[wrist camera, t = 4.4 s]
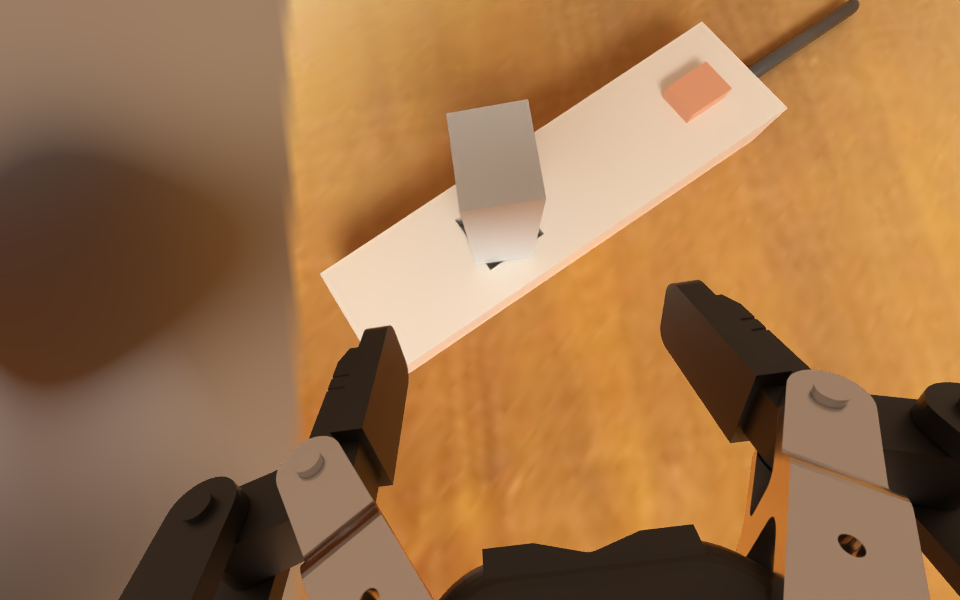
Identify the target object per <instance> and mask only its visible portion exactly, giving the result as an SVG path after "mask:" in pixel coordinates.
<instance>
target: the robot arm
mask: <svg viewBox="0 0 960 600" xmlns="http://www.w3.org/2000/svg"><path fill="white" fill-rule="evenodd" d="M660 330H661V337H662V341H663V343H664V345H665V347H666V349H667V350H668V352H669V353H670V355H671V356H672V358H673V359H674V361H675V362H676V363H677V365H678V366H679V368H680V369H681V371H682V372H683V374H684V375H685V377H686V378H687V380H688V381H689V383H690V384H691V386H692V387H693V389H694V390H695V392H696V393H697V395H698V396H699V397H700V399H701V400H702V402H703V403H704V405H705V406H706V408H707V409H708V411H709V412H710V414H711V415H712V417H713V418H714V420H715V421H716V423H717V424H718V426H719V427H720V429H721V430H722V431H723V433H724V434H725V436H726V437H727V439H728V440H729V442H730V443H735V442H743V441H750V442H751V443H752V445H753V446H754V447H755V451H754V454H753V457H752V464H751V472H750V480H749V487H748V495H747V503H746V510H745V518H744V524H743V529H742V532H741V536H740V539H739V542H738V546H737V549H736V552H735V551H732V550H730V549H727V548H725V547H722V546H719V545H716V544H712V543H709V542H704V541H701V540H700V537H699V535H698V533H697V531H696V529H695V527H694V525H693V524H692V525H683V526H675V527H666V528H658V529H649V530H641V531H638V532H636V533H634V534H632V535H629V536H627V537H625V538H623V539H621V540H618V541H616V542H614V543H612V544H609V545H607V546H605V547H603V548H601V549H598V550H596V551H593V552H581V551H575V550H569V549H564V548H558V547H552V546H546V545H540V544H535V543H531V544H523V545H514V546H506V547H497V548H489V549H482V551H483V565H482V566H480V567H477V568H475V569H473V570H472V571H470V572H469V573H467V574H465V575H464V576H463V577H461V578H460V579H459V580H458V581H457V582H455V583H454V584H453V585H452V586H451V587H450V588H449V589H448V590H447V591H446V592H445V593H444V594H443V595H442V597H441V598H440V599H439V600H930V595H929V590H928V585H927V579H926V574H925V568H924V563H923V557H922V552H923V554H924V555H925V556H926V557H927V558H928V559H929V561H930V562H931V563H932V564H933V565H934V567H935V568H936V569H937V570H938V571H939V572H940V574H941V575H942V576H943V577H944V578H945V580H946V581H947V582H948V583H949V584H950V585H951V587H952V588H953V589H954V590H955V591H956V593H957V594H958V595H959V596H960V383H951V382H944V383H936V384H933V385H930V386H929V387H928V388H927V389H926V390H925V391H924V393H923V394H922V395H921V396H920V398H919V399H918V400H916V399H907V398H897V397H888V396H878V395H870V394H869V393H868V392H867V391H866V390H864V389H863V388H862V387H860V386H859V385H858V384H856V383H854V382H853V381H851V380H849V379H847V378H845V377H842V376H840V375H837V374H834V373H830V372H826V371H821V370H811V369H810V368H809V367H808V366H807V365H806V364H805V363H804V362H803V361H802V360H800V359H799V358H798V357H797V356H796V355H795V354H794V353H793V352H792V351H791V350H790V349H789V348H788V347H786V346H785V345H784V344H783V343H782V342H781V341H780V340H779V339H778V338H777V337H776V336H775V335H774V334H772V333H771V332H770V331H769V330H766V327H765V326H764V325H763V324H762V323H761V322H760V321H758V320H757V319H755V318H754V316H753V315H752V314H751V313H750V312H749V311H748V310H747V309H746V308H744V307H743V306H742V305H741V304H740V303H738V302H736V301H734V300H732V299H730V298H728V297H726V296H724V295H722V294H721V295H715V294H714V293H713V292H712V291H711V290H710V289H709V288H708V287H707V286H706V285H705V284H704V283H703V282H702V281H700V280H693V281H687V282H680V283H673V284H670V285H668V287H667V289H666V295H665V301H664V307H663V313H662V320H661V327H660ZM407 388H408V367H407V363H406V360H405V357H404V355H403V352H402V349H401V347H400V344H399V341H398V338H397V336H396V333H395V330H394V328H393V327H392V326H391V325H389V326H382V327H375V328H369V329H365V330H364V332H363V335H362V338H361V341H360V344H359V347H357V348H350V349H349V350H348V351H347V352H346V354H345V355H344V356H343V357H342V358H341V359H340V361H339V362H338V364H337V367H336V369H335V372H334V374H333V379H332V380H331V382H330V385H329V388H328V392H327V393H326V395H325V398H324V401H323V403H322V406H321V409H320V411H319V414H318V416H317V419H316V422H315V424H314V427H313V430H312V432H311V435H310V437H309V439H308V440H306V441H304V442H302V443H300V444H299V445H298V446H296V447H295V448H294V449H293V450H291V451H290V452H289V453H288V454H287V456H286V457H285V458H284V460H283V461H282V463H281V464H280V466H279V469H278V470H276V471H274V472H273V473H270V474H268V475H265V476H263V477H261V478H258V479H256V480H254V481H251V482H249V483H246V484H244V485H242V486H238V485H237V484H236V483H235V482H234V481H233V480H231V479H230V478H227V477H215V478H211V479H208V480H206V481H204V482H202V483H200V484H198V485H196V486H195V487H193V488H192V489H191V490H189V491H188V492H187V493H185V495H183V496H182V497H181V498H180V499H179V500H178V501H177V502H176V503H175V504H174V506H173V507H172V508H171V509H170V511H169V513H168V514H167V516H166V517H165V519H164V521H163V523H162V525H161V526H160V528H159V530H158V532H157V533H156V535H155V537H154V538H153V540H152V542H151V544H150V545H149V547H148V549H147V551H146V553H145V554H144V556H143V558H142V560H141V561H140V563H139V565H138V567H137V569H136V570H135V572H134V574H133V575H132V577H131V579H130V581H129V582H128V584H127V586H126V588H125V589H124V591H123V593H122V595H121V596H120V598H119V600H282V596H283V592H284V589H285V585H286V581H287V578H288V574H289V571H290V568H291V567H293V566H295V565H297V564H299V563H301V562H303V561H304V563H303V564H302V565H301V567H300V572H301V577H302V581H303V584H304V587H305V590H306V593H307V595H308V598H309V600H434V598H433V597H432V595H431V593H430V592H429V590H428V588H427V587H426V585H425V583H424V582H423V580H422V579H421V577H420V575H419V574H418V572H417V570H416V569H415V567H414V565H413V564H412V562H411V560H410V559H409V557H408V555H407V554H406V552H405V551H404V549H403V547H402V546H401V544H400V542H399V541H398V539H397V537H396V536H395V534H394V532H393V531H392V529H391V527H390V526H389V524H388V522H387V521H386V519H385V517H384V516H383V514H382V512H381V511H380V509H379V507H378V506H377V504H376V498H377V492H378V487H380V486H388V485H393V480H394V474H395V467H396V461H397V454H398V447H399V441H400V434H401V428H402V421H403V414H404V408H405V401H406V395H407ZM921 551H922V552H921Z"/></svg>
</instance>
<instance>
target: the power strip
mask: <svg viewBox="0 0 960 600" xmlns="http://www.w3.org/2000/svg"><path fill="white" fill-rule="evenodd" d="M858 8H859V1H858V0H849V1H847V2H846V3H844V4H843V5H841V6H840V7H838V8H837V9H835V10H834V11H832V12H831V13H829V14H828V15H826V16H825V17H823V18H822V19H820V20H819V21H817V22H816V23H814V24H813V25H811V26H810V27H808V28H807V29H805V30H804V31H802V32H801V33H799V34H798V35H796V36H795V37H793V38H792V39H790V40H789V41H787V42H786V43H784V44H783V45H781V46H780V47H778V48H777V49H775V50H774V51H772V52H771V53H769V54H768V55H766V56H765V57H763V58H762V59H760V60H759V61H757V62H756V63H754V64H753V65H751V66H750V67H747V66H746V65H745V64H744V63H743V62H742V61H741V60H740V59H739V58H738V57H737V56H736V55H735V54H734V53H733V52H732V51H731V50H730V49H729V48H728V47H727V46H726V45H725V44H724V43H723V42H722V41H721V40H720V39H719V38H718V37H717V36H716V35H715V34H714V33H713V32H712V31H711V30H710V29H709V28H708V27H707V26H706V25H705V24H704V23H703V22H700V23H699V24H697V25H696V26H694V27H693V28H691V29H690V30H688V31H687V32H685V33H684V34H682V35H681V36H679V37H678V38H676V39H675V40H673V41H672V42H670V43H669V44H667V45H666V46H664V47H663V48H661V49H660V50H658V51H656V52H655V53H653V54H652V55H650V56H649V57H647V58H646V59H644V60H643V61H641V62H640V63H638V64H637V65H635V66H634V67H632V68H631V69H629V70H628V71H626V72H625V73H623V74H622V75H620V76H619V77H617V78H616V79H614V80H613V81H611V82H610V83H608V84H607V85H605V86H603V87H602V88H600V89H599V90H597V91H596V92H594V93H593V94H591V95H590V96H588V97H587V98H585V99H584V100H582V101H581V102H579V103H578V104H576V105H575V106H573V107H572V108H570V109H569V110H567V111H566V112H564V113H563V114H561V115H560V116H558V117H557V118H555V119H553V120H552V121H550V122H549V123H547V124H546V125H544V126H543V127H541V128H540V129H538V130H537V131H535V132H534V134H535V140H536V145H537V150H538V156H539V161H540V167H541V172H542V178H543V183H544V189H545V194H546V201H545V206H544V210H543V214H542V219H541V223H540V227H539V232H538V236H537V240H536V245H535V249H534V253H533V256H531V257H525V258H518V259H512V260H505V261H499V262H492V263H486V264H479V265H476V263H475V260H474V257H473V254H472V251H471V247H470V244H469V241H468V238H467V234H466V231H465V228H464V225H463V222H462V218H461V215H460V212H459V205H458V197H457V190H456V184H455V185H454V186H452V187H450V188H449V189H447V190H446V191H444V192H443V193H441V194H440V195H438V196H437V197H435V198H434V199H432V200H431V201H429V202H428V203H426V204H425V205H423V206H422V207H420V208H419V209H417V210H416V211H414V212H413V213H411V214H410V215H408V216H407V217H405V218H404V219H402V220H400V221H399V222H397V223H396V224H394V225H393V226H391V227H390V228H388V229H387V230H385V231H384V232H382V233H381V234H379V235H378V236H376V237H375V238H373V239H372V240H370V241H369V242H367V243H366V244H364V245H363V246H361V247H360V248H358V249H357V250H355V251H354V252H352V253H351V254H349V255H347V256H346V257H344V258H343V259H341V260H340V261H338V262H337V263H335V264H334V265H332V266H331V267H329V268H328V269H326V270H325V271H323V272H322V273H320V275H321V277H322V278H323V280H324V282H325V283H326V285H327V287H328V288H329V290H330V292H331V293H332V295H333V297H334V298H335V300H336V302H337V303H338V305H339V307H340V308H341V310H342V312H343V313H344V315H345V317H346V318H347V320H348V322H349V324H350V325H351V327H352V329H353V330H354V332H355V334H356V335H357V337H358V339H359V340H360V341H361V338H362V335H363V332H364V330H365V329H369V328H375V327H382V326H389V325H391V326H392V327H393V328H394V330H395V333H396V336H397V338H398V341H399V344H400V347H401V349H402V352H403V355H404V357H405V360H406V363H407V367H408V374H409V373H410V372H412V371H413V370H415V369H416V368H418V367H419V366H421V365H422V364H424V363H425V362H427V361H428V360H430V359H431V358H432V357H434V356H435V355H437V354H438V353H440V352H441V351H443V350H444V349H446V348H447V347H449V346H450V345H452V344H453V343H455V342H456V341H458V340H459V339H460V338H462V337H463V336H465V335H466V334H468V333H469V332H471V331H472V330H474V329H475V328H477V327H478V326H480V325H481V324H483V323H484V322H486V321H487V320H489V319H490V318H491V317H493V316H494V315H496V314H497V313H499V312H500V311H502V310H503V309H505V308H506V307H508V306H509V305H511V304H512V303H514V302H515V301H517V300H518V299H519V298H521V297H522V296H524V295H525V294H527V293H528V292H530V291H531V290H533V289H534V288H536V287H537V286H539V285H540V284H542V283H543V282H545V281H546V280H548V279H549V278H550V277H552V276H553V275H555V274H556V273H558V272H559V271H561V270H562V269H564V268H565V267H567V266H568V265H570V264H571V263H573V262H574V261H576V260H577V259H578V258H580V257H581V256H583V255H584V254H586V253H587V252H589V251H590V250H592V249H593V248H595V247H596V246H598V245H599V244H601V243H602V242H604V241H605V240H606V239H608V238H609V237H611V236H612V235H614V234H615V233H617V232H618V231H620V230H621V229H623V228H624V227H626V226H627V225H629V224H630V223H632V222H633V221H635V220H636V219H637V218H639V217H640V216H642V215H643V214H645V213H646V212H648V211H649V210H651V209H652V208H654V207H655V206H657V205H658V204H660V203H661V202H663V201H664V200H665V199H667V198H668V197H670V196H671V195H673V194H674V193H676V192H677V191H679V190H680V189H682V188H683V187H685V186H686V185H688V184H689V183H691V182H692V181H694V180H695V179H696V178H698V177H699V176H701V175H702V174H704V173H705V172H707V171H708V170H710V169H711V168H713V167H714V166H716V165H717V164H719V163H720V162H722V161H723V160H724V159H726V158H727V157H729V156H730V155H732V154H733V153H735V152H736V151H738V150H739V149H741V148H742V147H744V146H745V145H747V144H748V143H750V142H751V141H752V140H753V139H754V138H755V137H757V136H758V135H759V134H760V133H761V132H762V131H763V130H764V129H765V128H766V127H767V126H768V125H770V124H771V123H772V122H773V121H774V120H775V119H776V118H777V117H778V116H779V115H780V114H782V113H783V112H784V111H785V110H786V109H787V107H786V106H785V105H784V104H783V103H782V102H781V101H780V100H779V99H778V98H777V97H776V96H775V95H774V94H773V93H772V92H771V91H770V90H769V89H768V88H767V87H766V86H765V85H764V84H763V83H762V82H761V81H760V80H759V79H758V77H760V76H761V75H763V74H764V73H766V72H767V71H769V70H770V69H772V68H773V67H775V66H776V65H778V64H779V63H781V62H782V61H784V60H785V59H787V58H788V57H790V56H791V55H793V54H794V53H796V52H797V51H799V50H800V49H802V48H803V47H805V46H806V45H808V44H809V43H811V42H812V41H814V40H815V39H817V38H818V37H820V36H821V35H823V34H824V33H825V32H827V31H828V30H830V29H831V28H833V27H834V26H836V25H837V24H839V23H840V22H842V21H843V20H845V19H846V18H848V17H849V16H851V15H852V14H854V13H855V12H856V11H857V10H858Z"/></svg>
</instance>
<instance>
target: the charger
mask: <svg viewBox="0 0 960 600" xmlns="http://www.w3.org/2000/svg"><path fill="white" fill-rule="evenodd" d="M446 117H447V124H448V131H449V139H450V146H451V153H452V161H453V168H454V175H455V183H456V190H457V197H458V205H459V212H460V215H461V218H462V222H463V225H464V228H465V231H466V234H467V238H468V241H469V244H470V247H471V251H472V254H473V257H474V260H475V263H476V265H479V264H486V263H492V262H499V261H505V260H512V259H518V258H525V257H531V256H533V253H534V249H535V245H536V240H537V236H538V232H539V227H540V223H541V219H542V214H543V210H544V206H545V201H546V194H545V189H544V183H543V178H542V172H541V167H540V161H539V156H538V150H537V145H536V140H535V134H534V129H533V123H532V118H531V112H530V107H529V101H528V99H525V100H520V101H514V102H508V103H502V104H497V105H491V106H485V107H479V108H474V109H468V110H462V111H456V112H451V113H446Z"/></svg>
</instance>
